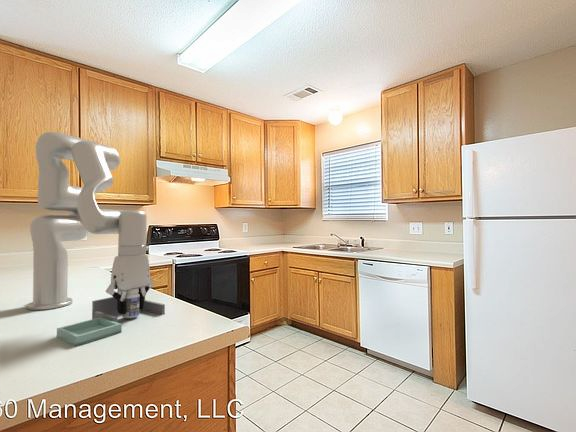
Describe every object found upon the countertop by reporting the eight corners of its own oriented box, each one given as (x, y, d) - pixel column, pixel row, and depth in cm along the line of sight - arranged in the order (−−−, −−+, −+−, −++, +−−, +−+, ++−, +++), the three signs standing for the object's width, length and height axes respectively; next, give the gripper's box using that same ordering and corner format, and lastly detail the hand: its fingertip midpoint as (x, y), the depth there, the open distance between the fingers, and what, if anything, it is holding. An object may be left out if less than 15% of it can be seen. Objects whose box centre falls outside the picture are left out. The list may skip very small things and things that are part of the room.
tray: (56, 337, 77) (56, 328, 77) (100, 325, 86) (100, 317, 86) (76, 346, 72) (76, 336, 72) (121, 332, 81) (121, 323, 81)
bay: (92, 321, 89) (92, 301, 89) (143, 308, 103) (143, 290, 103) (113, 329, 83) (113, 306, 83) (164, 313, 97) (164, 294, 97)
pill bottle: (132, 319, 90) (132, 290, 90) (118, 317, 91) (118, 289, 91) (142, 314, 94) (143, 287, 94) (129, 312, 95) (130, 286, 95)
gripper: (150, 248, 102) (149, 302, 102) (96, 252, 88) (94, 316, 87) (164, 249, 98) (163, 306, 98) (110, 254, 84) (108, 321, 83)
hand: (130, 310), depth 93 cm, fingers closed on pill bottle, 4 cm apart
